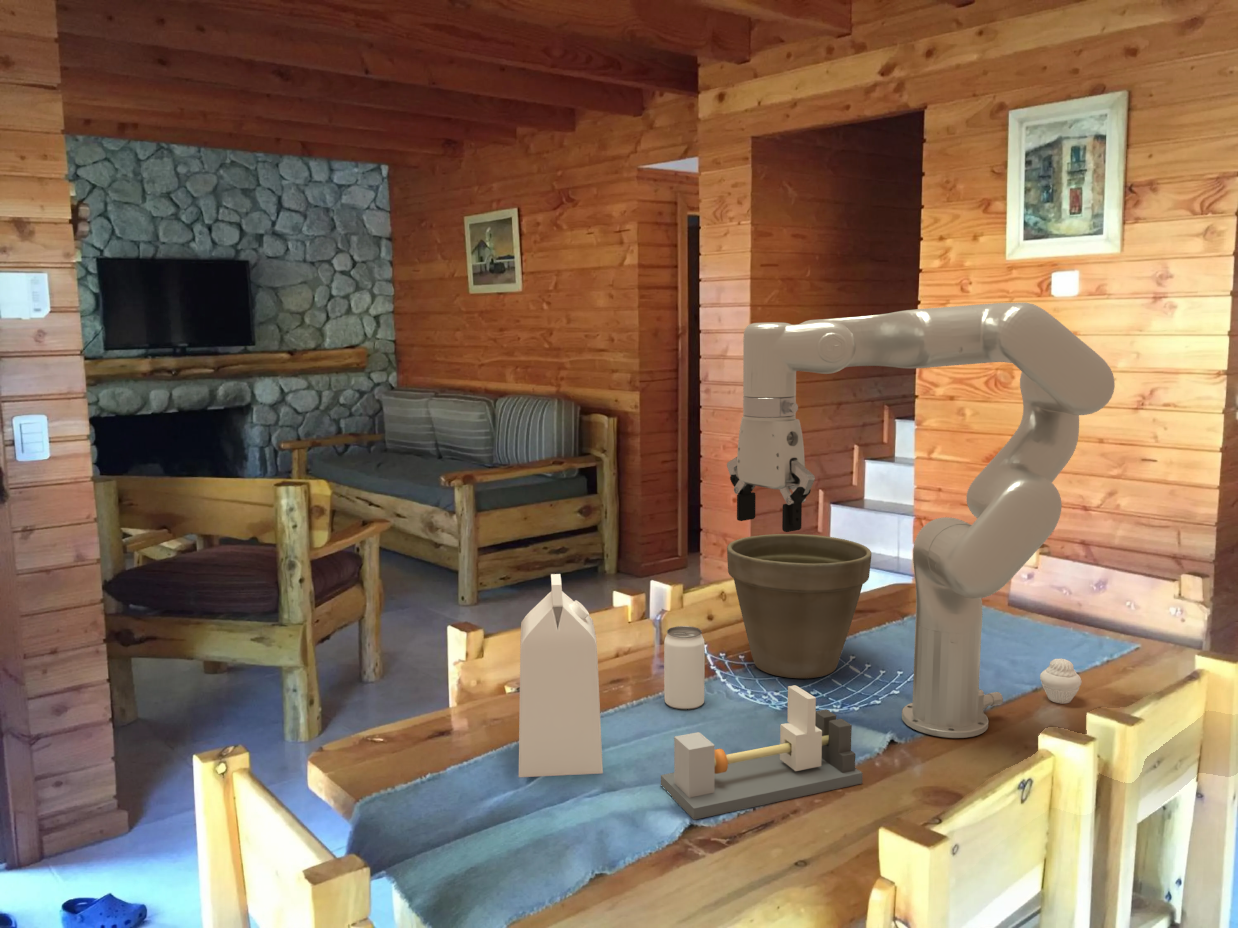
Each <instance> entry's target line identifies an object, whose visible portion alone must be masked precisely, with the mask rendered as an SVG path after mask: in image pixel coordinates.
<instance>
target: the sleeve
mask: <svg viewBox="0 0 1238 928" xmlns="http://www.w3.org/2000/svg"><path fill="white" fill-rule="evenodd" d="M816 705H817V698H816V696H814V695H812V694H810V693H809V692H807V691H806V690H804V689H803V688H801V687H799V686H798V685H789V686H787V723H781V724H780V726H779V728H780V729H779V730H780V731H779V733H780V735H779V736H780V739H779V744H785V743H791V744H792V752H787V753H782V754H780V760H782V761H783V762H784V763H786V764H787V765H788V766H789V767H791V768H792V769H793V770H795V771H799V770H804V769H809V768H814V767H819V766H821V757H822V730H820V729H819V728H817V727H816V726H815V716H816V711H817V710H816V708H817V707H816Z"/></svg>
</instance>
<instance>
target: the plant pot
mask: <svg viewBox="0 0 1238 928" xmlns="http://www.w3.org/2000/svg"><path fill="white" fill-rule="evenodd" d="M726 555H727V559H726V560H727V572H728V574H729V576H730V578H733V582H734V586H735V591H736V594H737V600H738V603H739V608H740V612H741V613H740V614H741V617H742V620H743V624H744V628H745V634H746V637H747V641H748V646H749V649H750V652H751V653H750V654H751V658H752V661H753V663H754V665H755V667H756V668H757V669H759V670H761V671H763V672H764V673H767V674H770V675H773V676H776V677H777V676H778V677H782V678H789V679H790V678H791V679H801V680H802V679H803V680H804V679H814V678H820V677H826V676H827V675H830V674H832V673H833V672H835V670H836V669H837V667H838V664H839V662H840V659H841V655H842V653H843V650H844V647H845V643H846V641H847V637H848V635H849V634H848V633H849V631H850V629H851V625H852V622H853V619H854V615H855V612H856V609H857V607H858V602H859V599H860V596H861V592H862V589H863V586H864V585H863V584H866V583H867V582H868V581H869V579H870V571H871V565H872V564H871V562H872V551H871V550H870V548H868V547H867V546H865V545H864V544H861V543H859V542H857V541H853V540H849V539H846V538H845V539H843V538H841V537H840V538H839V537H833V536H826V535H817V534H815V535H814V534H804V533H803V534H801V533H772V534H771V533H770V534H763V535H754V536H746V537H742V538H739V539H738V538H737V539H736V540H733V541H731V542H729V543H728V545H727V546H726Z"/></svg>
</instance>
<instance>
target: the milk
mask: <svg viewBox="0 0 1238 928" xmlns="http://www.w3.org/2000/svg"><path fill="white" fill-rule="evenodd" d="M550 581H551V583H550V585H551V591H550V592H549V593H547V595H546V596H545V597H543V598H542V599H541V600H540V601H539V602H538V603H537V604H536V605H535V606H534V607H533V608H532V609H530V611H529V612H528V613H527V614H526V615H525V617H524V618H523V619H522V620H521V622H520V645H519V647H520V648H519V650H520V651H519V652H520V656H519V657H520V658H519V660H520V661H519V663H520V664H519V717H518V718H519V719H518V722H519V723H518V725H519V727H518V731H519V733H518V736H519V737H518V778H529V777H530V778H531V777H534V778H535V777H553V776H572V775H573V776H574V775H577V776H578V775H593V774H594V775H596V774H598V775H599V774H604V771H603V770H604V769H603V751H602V750H603V749H602V748H603V747H602V745H603V744H602V728H601V706H600V701H601V700H600V686H599V685H600V683H599V682H600V680H599V667H598V666H599V661H598V644H597V642H598V641H597V635H596V629H595V624H594V620H593V618H592V617H591V616H590V613H589V611H588V609H587V608H586V607H585V606H584V605H583V604H582V603H581V602H579V601H578V600H577V599H576V600H573V599H572V598H571V597H570V596H568V595H567V594H566V593H565V592H564V591H563V588H562V586H563V585H562V577H561V573H556V574H555V573H550Z"/></svg>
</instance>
